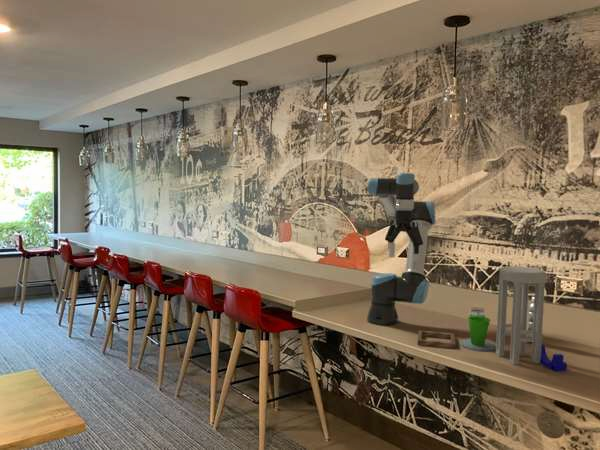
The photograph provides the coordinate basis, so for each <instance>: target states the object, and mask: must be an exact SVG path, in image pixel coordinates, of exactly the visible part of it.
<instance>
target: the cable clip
mask: <svg viewBox="0 0 600 450" xmlns="http://www.w3.org/2000/svg"><path fill="white" fill-rule="evenodd" d="M564 357H565V356H564V354H561V353H553V354H552V359H550V358H549V357H548V355H547V353H546V346H545V345H543V344H541V360H540V363H539V364H541V365H543V366H544V367H547V368H548V369H550V370H551V371H553V372H554V373H555V372H567V367H568V363H567V362H565V361H564Z"/></svg>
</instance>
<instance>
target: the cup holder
mask: <svg viewBox="0 0 600 450" xmlns="http://www.w3.org/2000/svg"><path fill="white" fill-rule="evenodd" d="M417 335H418V336H417V346H423V345H425V346H426V347H433V348H434V347H435V348H443V349H444V348H446V349H456V337H455V333H452V332H451V333H450V332H440V331H439V332H438V331H428V330H420V329H419V330H418V334H417ZM423 337H427V338H428V337H429V338H437V339H449V340H450V341H442V340H441V341H439V340H432V339H431V340H429V339H423Z"/></svg>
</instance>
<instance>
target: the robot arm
mask: <svg viewBox="0 0 600 450" xmlns="http://www.w3.org/2000/svg"><path fill="white" fill-rule="evenodd" d="M415 178H416V177H415V174H414V173H411V172H409V173H408V172H400V173H397V174H396V178H392V177H391V178H390V177H389V178H386V177H375V178H373V177H372V178H369V180H368V181H367V193H368V194H369V195H370V196H371V195H372V196H376V197H377V198H378V199H379V201H380V203H381V204H382V206H383V210H384V213H385V214H386V215H387V217H389V218H391V220H390V225H389V226H388V227H389V228H388V229H387V232H386V235H385V238H384V239H385V241H386V242H388V243H387V245H388V246H387V247H388V258H389V259H391V258H395V256H396V255H395V251H396V242H395V240H396V239H397V237H399V235H400V233H401V232H404V233H406V234H407V235H408V237H409V240H408V241H409V242H408V247H407V249H408V250H407V257H406V264H405V265H406V266H405V271H403V272H402V273H401V277H398V276H397V274H396V273H392V272H391V273H379V274H375V275H373V276H372V278H371V284H370V285H371V289H370V291H371V292H370V293H371V296H370V297H371V299H370V301H371V302H370V306H369V309H368V313H367V315H366V321H367V322H368V323H371V324H374V325H378V326H379V325H381V326H391V325H392V326H393V325H396V324H398V323H399V314H398V311H397V308H396V302H397V303H408V304H418V305H420V304H423V303H425V302H426V300H427V298H428V297H427V296H428V292H429V287H430V282H429V280H428V279H427V276H426V275H425V273H424V272H425V271H424V270H425V263H426V253H427V246H428V238H429V237H428V235H429V231H430V230H431V229H433V226H435V225H436V221H437V219H436V209H435V208H436V207H435V203H434V202H432V201H426V200H425V201H419V200H417V201H415V200H414V199H415V198H414V197H415V195H416V194H417V193H418V191H419V189H420V185H419V182H418V181H417V180H416V179H415Z"/></svg>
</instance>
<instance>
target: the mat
mask: <svg viewBox="0 0 600 450" xmlns="http://www.w3.org/2000/svg"><path fill="white" fill-rule="evenodd" d="M460 346H462V347H463V348H465V349H469V350H471V351H476V352H477V351H478V352H492V351H496V344H494V343H492V342H489V341H487V340H485V344H484V346H474V345H472V343H471V338H470V339H464V340H461V341H460Z"/></svg>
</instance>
